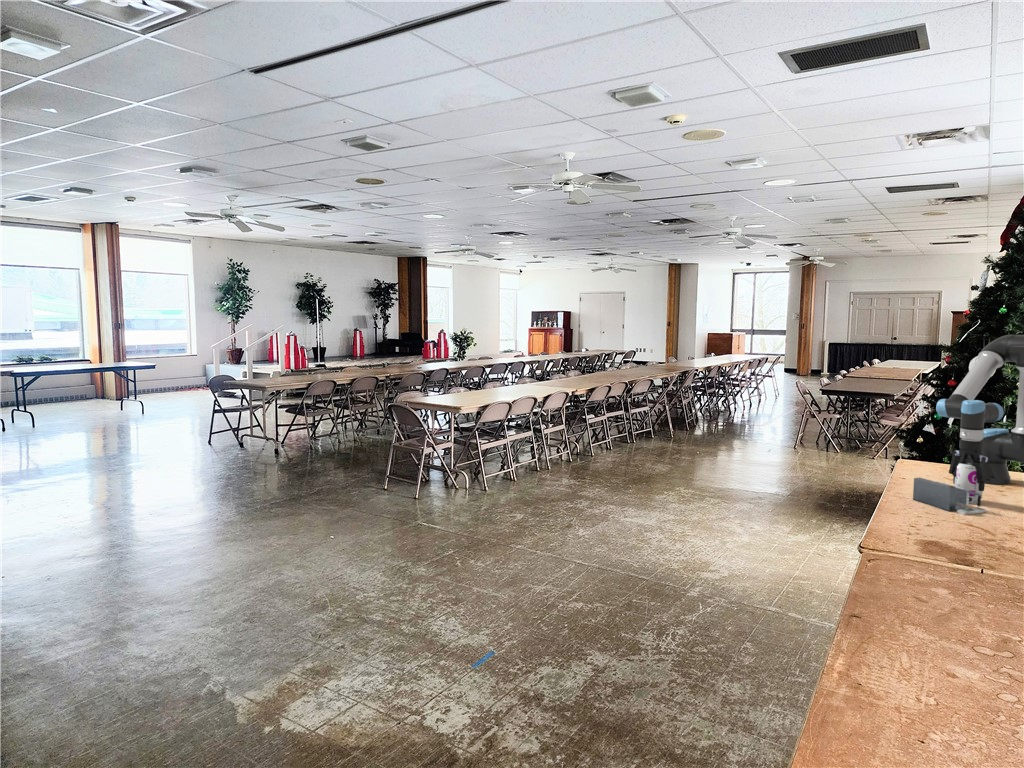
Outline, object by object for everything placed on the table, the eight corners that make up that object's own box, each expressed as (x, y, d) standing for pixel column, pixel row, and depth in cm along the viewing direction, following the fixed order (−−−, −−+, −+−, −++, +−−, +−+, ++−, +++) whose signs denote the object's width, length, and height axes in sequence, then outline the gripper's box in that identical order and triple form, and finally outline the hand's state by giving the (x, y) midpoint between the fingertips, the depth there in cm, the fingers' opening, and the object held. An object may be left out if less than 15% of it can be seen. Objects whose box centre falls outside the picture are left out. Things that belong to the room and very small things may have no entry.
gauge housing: (935, 497, 261) (936, 475, 260) (985, 512, 241) (986, 489, 240) (912, 499, 258) (913, 478, 257) (961, 515, 238) (962, 491, 237)
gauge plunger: (936, 495, 260) (936, 481, 259) (980, 509, 241) (981, 493, 241) (933, 496, 259) (934, 481, 259) (978, 509, 241) (979, 494, 240)
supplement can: (985, 503, 251) (987, 466, 249) (963, 504, 251) (966, 466, 249) (971, 498, 259) (973, 461, 257) (950, 498, 259) (952, 462, 258)
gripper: (939, 435, 261) (936, 489, 264) (989, 445, 241) (986, 503, 244) (954, 434, 263) (951, 487, 266) (1005, 443, 243) (1001, 501, 246)
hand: (967, 495), depth 255 cm, fingers closed on supplement can, 8 cm apart
